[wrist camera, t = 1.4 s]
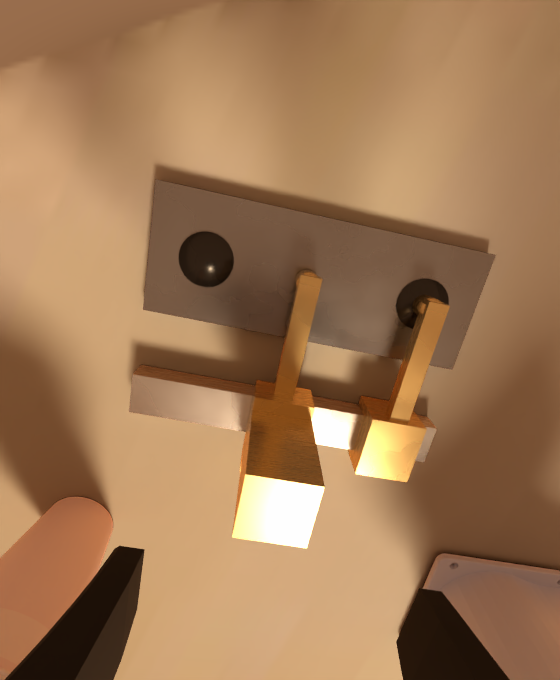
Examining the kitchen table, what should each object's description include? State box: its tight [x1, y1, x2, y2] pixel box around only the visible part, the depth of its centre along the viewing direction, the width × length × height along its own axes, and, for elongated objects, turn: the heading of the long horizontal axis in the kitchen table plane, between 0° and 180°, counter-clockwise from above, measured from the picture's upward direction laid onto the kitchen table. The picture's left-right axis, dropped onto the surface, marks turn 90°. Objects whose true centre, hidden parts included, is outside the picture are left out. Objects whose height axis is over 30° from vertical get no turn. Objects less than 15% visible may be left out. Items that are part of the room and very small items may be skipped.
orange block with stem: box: [232, 270, 324, 548], centre depth 15 cm, size 3×9×6 cm, turn 168°
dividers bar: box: [129, 295, 450, 482], centre depth 17 cm, size 15×9×2 cm, turn 78°
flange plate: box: [143, 180, 495, 369], centre depth 17 cm, size 15×6×1 cm, turn 78°
